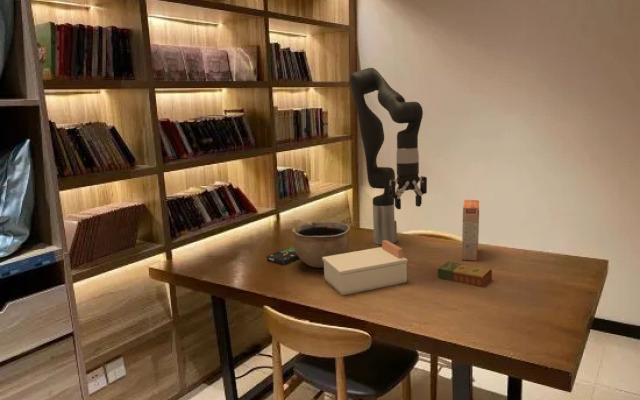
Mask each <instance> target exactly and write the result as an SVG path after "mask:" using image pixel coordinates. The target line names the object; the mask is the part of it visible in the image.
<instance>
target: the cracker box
mask: <svg viewBox="0 0 640 400" xmlns="http://www.w3.org/2000/svg"><path fill="white" fill-rule="evenodd" d="M463 201H464V202H463V206H462V207H463V208H462V237H461V238H462V239H461V246H462V247H461V259H462V261H471V262H472V261H473V262H475V261H478V257H479V256H478V252H479V231H480V228H479V227H480V201H479V200H477V199H465V200H463Z"/></svg>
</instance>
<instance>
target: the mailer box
mask: <svg viewBox="0 0 640 400" xmlns="http://www.w3.org/2000/svg"><path fill="white" fill-rule="evenodd" d="M323 273H324V274H323V275H324V280H325V282H327V283H328V284H329V285H330V286H331V287H332V288H333V289H334V290H336V291H337V292H338V293H339V294H340V295H341V296H345V295H346V296H347V295H351V294H356V293H361V292H366V291H371V290H376V289H377V290H378V289H381V288H385V287H390V286H396V285H400V284H406V283H407V281H408V280H407V278H408V277H407V262H406V263H400V264H395V265H390V266H384V267H379V268H373V269H368V270H363V271H357V272H352V273H346V274H341V275H340V274H339V273H337V272H336V271H335V270H334V269H333V268H331V267H330V266H329V265H328V264H327V263H326V262H324V267H323Z"/></svg>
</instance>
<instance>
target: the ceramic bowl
mask: <svg viewBox="0 0 640 400" xmlns="http://www.w3.org/2000/svg"><path fill="white" fill-rule="evenodd" d="M350 230H351V226H350V225H348V224H347V223H342V222H340V221H332V220H329V221H327V220H316V221H314V220H313V221H311V223H309V222H304V223H300V224H298V229H297V228H295V227H293V228H292V233H293V235H294V239H293V247H294V248H295V252H296V253H297V255H298V257H299V258H300V260H301V261H302V262H303V263H304V264H305V265H307V266H309V267H311V268H318V269H319V268H324V261H323V260H322V257H326V256H332V255H338V254H344V253H349V252H348V251H349V250H350V237H349V232H350Z"/></svg>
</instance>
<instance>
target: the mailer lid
mask: <svg viewBox="0 0 640 400" xmlns="http://www.w3.org/2000/svg"><path fill="white" fill-rule="evenodd" d="M403 252H404V251H403V248H402V247H400V246H398V245H396V244H395V243H391V242H389V241H387V240H383V241H382V245H381V247H373V248H368V249H362V250H357V251H351V252H347V253H344V254H338V255H332V256H326V257H322V260H323V261H324V262H326V263H327V264H328V265H329V266H330V267H331V268H333V269H334V270H335V271H336V272H337V273H339V274H340V275H341V274H346V273H352V272H357V271H363V270H368V269H373V268H379V267H384V266H390V265H395V264H400V263H406V264H407V263H408V261H409V260H408V259H407V258H406V257H404V256H403V255H404V254H403Z"/></svg>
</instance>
